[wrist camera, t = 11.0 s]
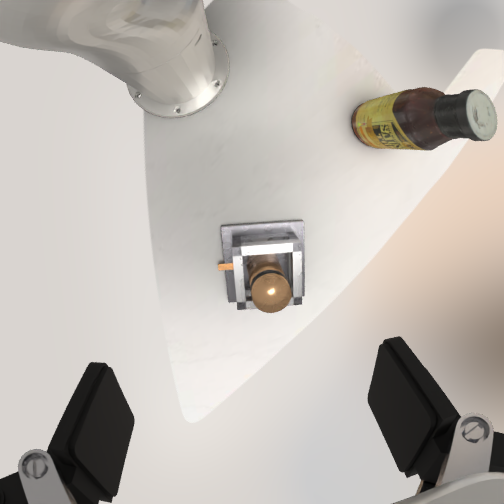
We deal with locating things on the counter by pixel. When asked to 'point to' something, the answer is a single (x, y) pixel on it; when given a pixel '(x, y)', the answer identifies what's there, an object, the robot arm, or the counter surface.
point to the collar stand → (262, 242)
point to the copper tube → (268, 283)
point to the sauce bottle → (424, 119)
